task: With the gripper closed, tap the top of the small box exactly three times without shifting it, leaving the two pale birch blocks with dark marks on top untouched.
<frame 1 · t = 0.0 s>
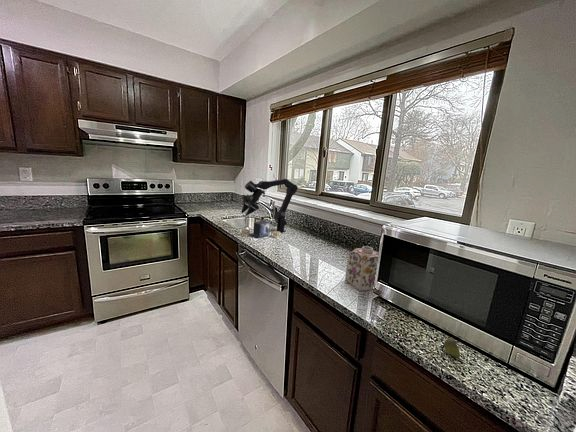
hand: (243, 214, 176), 15 cm above the worktop, tool tilted 35°, fingers open, 9 cm apart
marked block near: (276, 237, 179), on the worktop
small box: (261, 236, 178), on the worktop
lime: (451, 355, 73), on the worktop
decorative jar: (361, 284, 114), on the worktop
marked block far: (245, 235, 176), on the worktop
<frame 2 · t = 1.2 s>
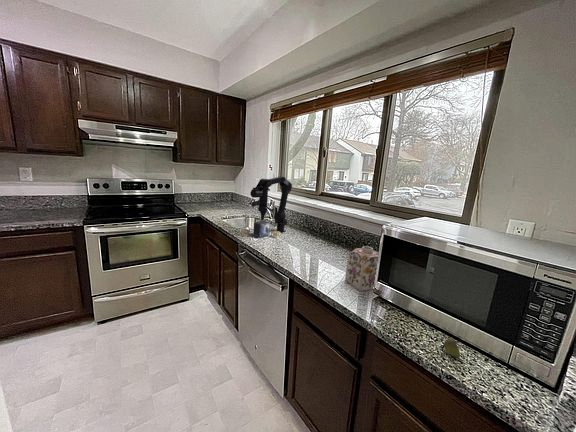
hand: (262, 218, 175), 13 cm above the worktop, tool pointing down, fingers open, 4 cm apart
nothing on the worktop moved.
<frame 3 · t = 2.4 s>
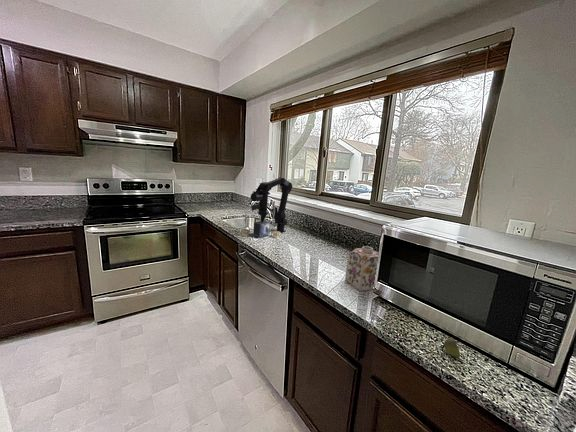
hand: (262, 222, 176), 10 cm above the worktop, tool pointing down, fingers closed, pressing on small box
small box: (261, 236, 178), on the worktop, touching gripper
everything else where it was.
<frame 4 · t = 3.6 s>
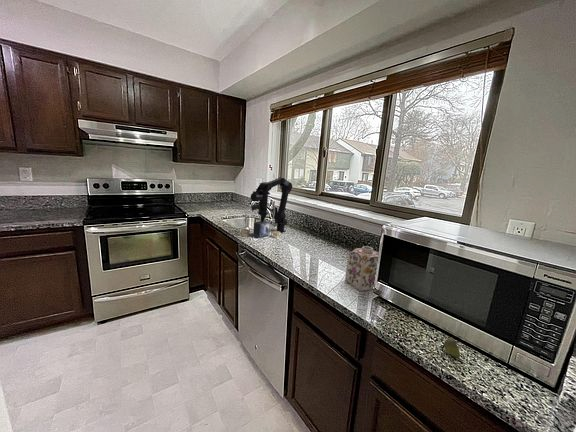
hand: (262, 222, 176), 10 cm above the worktop, tool pointing down, fingers closed, pressing on small box
small box: (261, 236, 178), on the worktop, touching gripper
everything else where it was.
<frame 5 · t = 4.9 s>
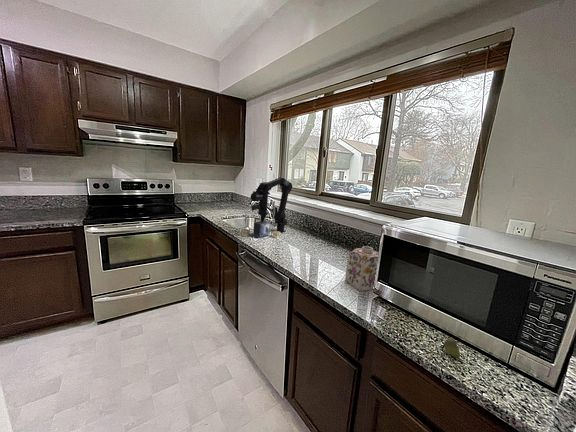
hand: (262, 222, 176), 10 cm above the worktop, tool pointing down, fingers closed, pressing on small box
small box: (261, 236, 178), on the worktop, touching gripper
everything else where it was.
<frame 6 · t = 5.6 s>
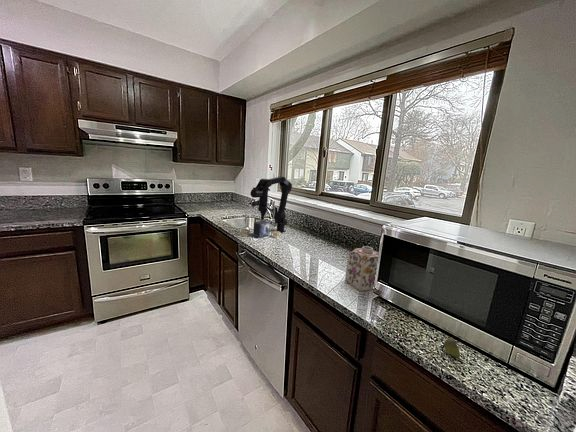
hand: (262, 218, 175), 13 cm above the worktop, tool pointing down, fingers closed
small box: (261, 236, 178), on the worktop
everything else where it was.
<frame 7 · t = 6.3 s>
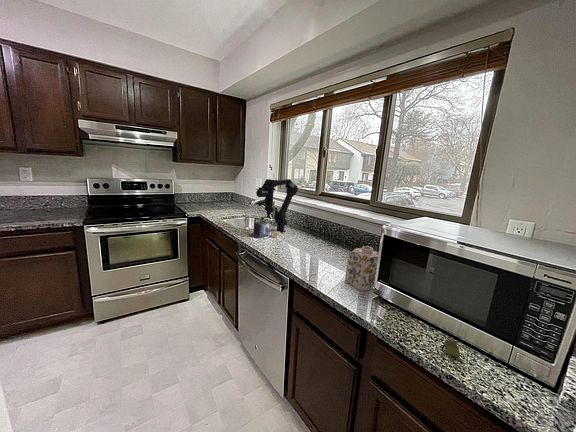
hand: (268, 217, 182), 13 cm above the worktop, tool pointing down, fingers closed
nothing on the worktop moved.
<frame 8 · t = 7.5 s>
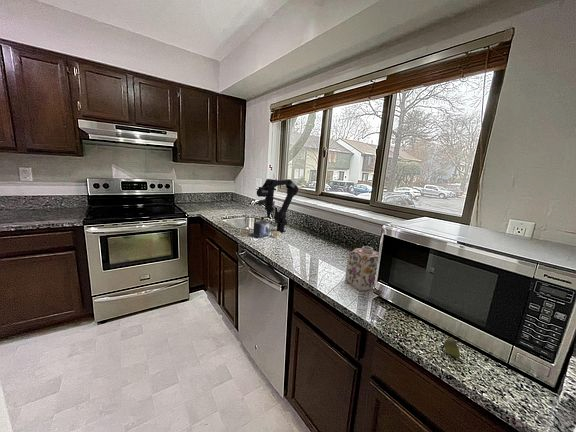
hand: (268, 217, 182), 13 cm above the worktop, tool pointing down, fingers closed
nothing on the worktop moved.
at the end: small box moved 0.3 cm from its start; small box tilted 0°; marked block far moved 0.1 cm from its start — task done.
